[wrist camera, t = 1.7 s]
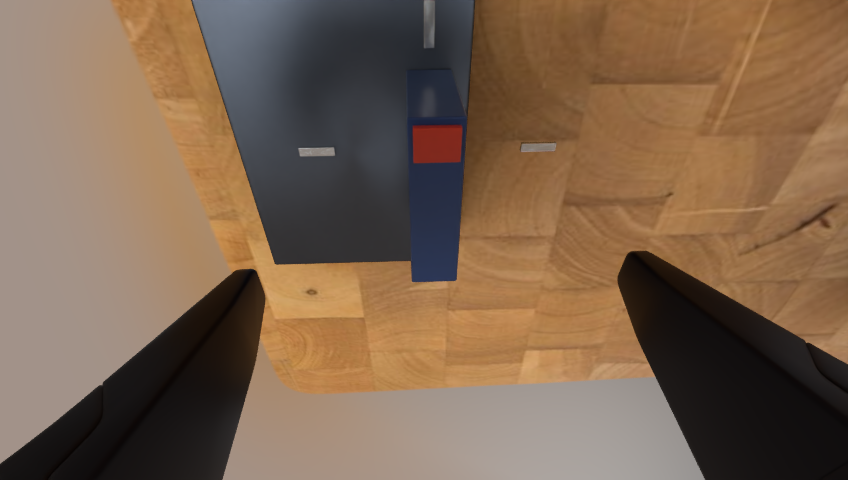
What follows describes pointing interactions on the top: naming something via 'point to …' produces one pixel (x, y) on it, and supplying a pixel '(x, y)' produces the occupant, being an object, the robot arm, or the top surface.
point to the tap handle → (435, 172)
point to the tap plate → (332, 113)
